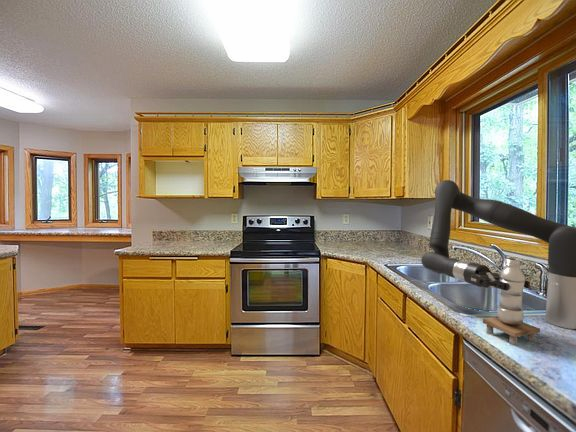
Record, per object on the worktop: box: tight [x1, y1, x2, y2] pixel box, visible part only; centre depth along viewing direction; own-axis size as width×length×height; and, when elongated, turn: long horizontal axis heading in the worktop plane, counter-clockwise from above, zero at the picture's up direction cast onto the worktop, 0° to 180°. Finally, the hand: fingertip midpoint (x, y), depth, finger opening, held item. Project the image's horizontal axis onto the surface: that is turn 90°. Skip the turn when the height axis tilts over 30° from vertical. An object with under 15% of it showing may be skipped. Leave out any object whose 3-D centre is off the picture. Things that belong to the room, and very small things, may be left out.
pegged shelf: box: [482, 316, 541, 347], centre depth 90 cm, size 10×10×4 cm
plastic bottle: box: [496, 257, 526, 325], centre depth 89 cm, size 6×7×20 cm
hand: (518, 286), depth 87 cm, fingers open, 8 cm apart
